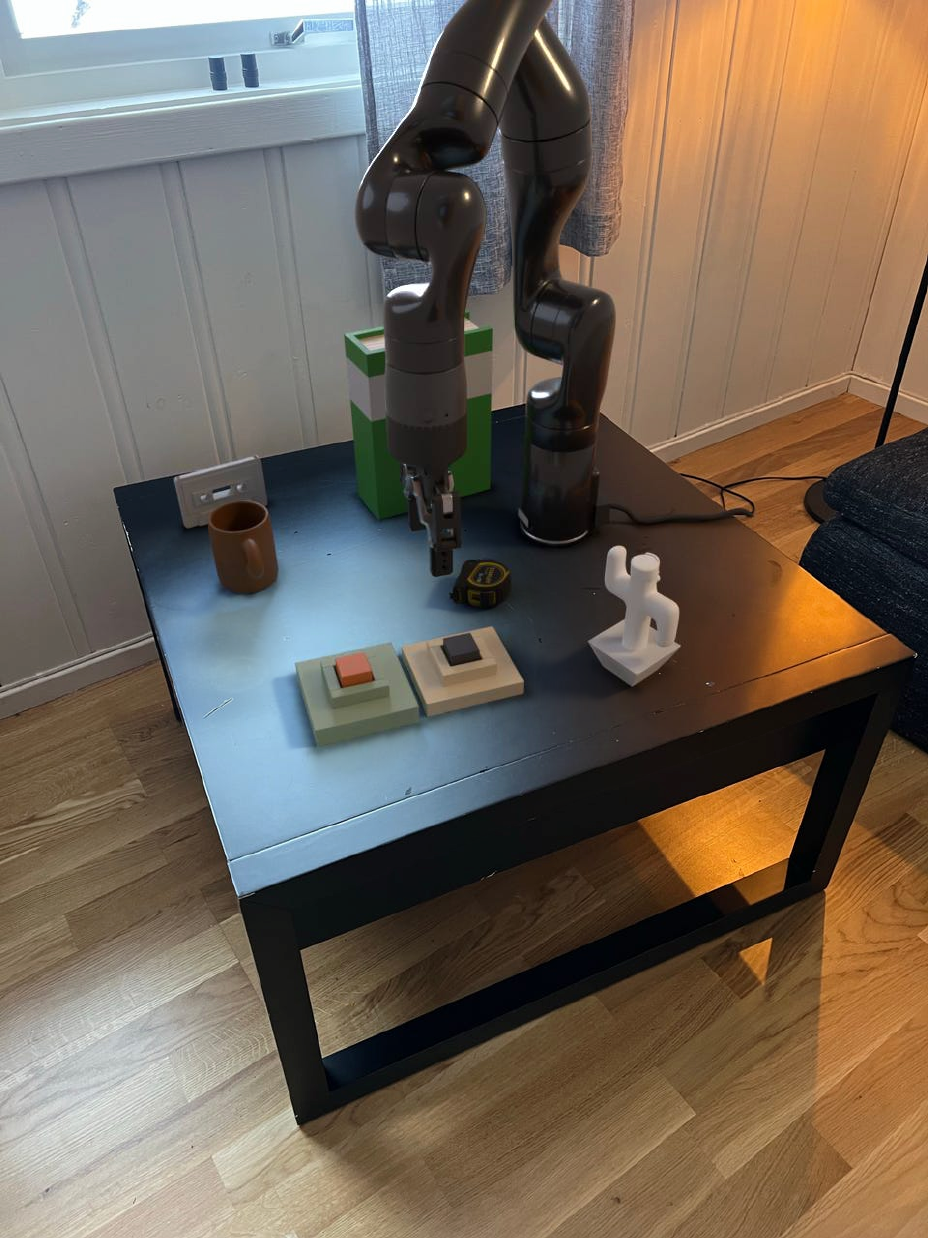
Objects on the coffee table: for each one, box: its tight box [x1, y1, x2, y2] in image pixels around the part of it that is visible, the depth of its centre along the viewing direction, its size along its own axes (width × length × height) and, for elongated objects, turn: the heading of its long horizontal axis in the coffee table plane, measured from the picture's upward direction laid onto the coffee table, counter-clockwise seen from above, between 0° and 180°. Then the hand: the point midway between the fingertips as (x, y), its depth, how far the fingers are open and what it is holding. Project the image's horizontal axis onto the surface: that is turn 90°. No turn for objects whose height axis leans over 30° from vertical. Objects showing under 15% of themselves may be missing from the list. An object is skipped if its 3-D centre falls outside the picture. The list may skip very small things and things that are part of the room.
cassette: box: [173, 455, 268, 529], centre depth 128 cm, size 12×2×8 cm, turn 121°
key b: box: [335, 652, 372, 688], centre depth 99 cm, size 3×3×2 cm
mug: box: [207, 500, 279, 595], centre depth 114 cm, size 12×8×9 cm, turn 24°
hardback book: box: [343, 309, 494, 521], centre depth 127 cm, size 18×7×24 cm, turn 117°
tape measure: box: [448, 558, 513, 608], centre depth 114 cm, size 7×7×4 cm
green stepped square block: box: [294, 641, 420, 748], centre depth 100 cm, size 11×11×4 cm
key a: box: [443, 633, 480, 666], centre depth 102 cm, size 3×3×2 cm
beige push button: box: [400, 625, 525, 717], centre depth 103 cm, size 11×10×4 cm
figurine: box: [587, 545, 681, 687], centre depth 101 cm, size 7×9×15 cm
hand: (430, 550), depth 96 cm, fingers open, 8 cm apart
